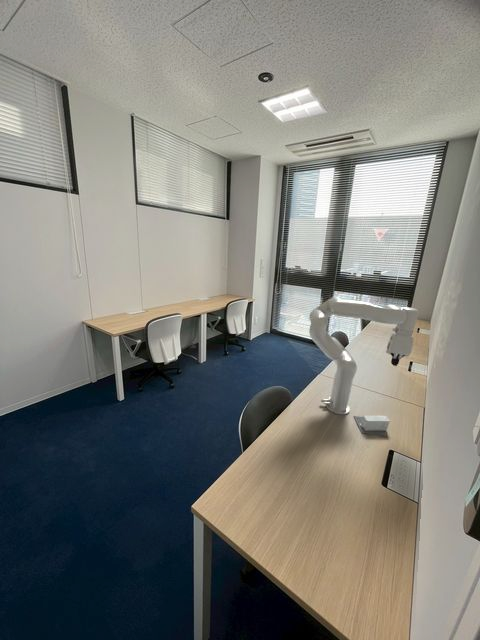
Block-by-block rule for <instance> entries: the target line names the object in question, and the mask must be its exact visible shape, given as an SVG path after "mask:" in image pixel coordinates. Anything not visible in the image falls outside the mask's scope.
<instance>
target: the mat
mask: <svg viewBox="0 0 480 640" xmlns="http://www.w3.org/2000/svg"><path fill="white" fill-rule="evenodd" d="M353 418H354V420H355V423H356V425H357V427H358V429H359V431H360V433H361V434H363V435H368V436H369V435H370V436H377V437H385V438H387V437H388V435H387V433H386V432H385V430H372V431H365V430H364V429H363V427H362V426H361V423H362V419H363V416H355V415H353Z"/></svg>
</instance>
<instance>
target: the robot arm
mask: <svg viewBox="0 0 480 640" xmlns="http://www.w3.org/2000/svg"><path fill="white" fill-rule="evenodd" d="M419 314H420V311H419V310H418V309H416V308H414V307H408V306H405V307H404V306H398V305H396V304H395V305H394V304H387V305H384V306H383V307H381V306H379V305H375V304H371V303H369V302H366V301H360V300H359V301H357V300H348V299H342V298H341V297H338V296H333V297H331V298H329V299H328V300H326V301H324V302H322V303H321V304H320V305H318V306H317V307H316V308H314V309H312V310H311V312H310V313H309V321H310V324H309V329H308V330H309V332H308V333H309V337H310V339H311V341H313V343H315V345H316V346H317V347H318V348H319V349H320V350H321V351H322V353H324V355H325V356H326V357H327V358H328V359H330V360H332V361H334V364H335V365H336V372H335V373H334V376H333V383H332V387H331V392H330V393H331V394H330V395H329V396H328V398H323V397H322V398H320V402H321V403H323V404H324V405H325V407H326V408H327V410H329V411H330V412H331V413H333V414H336V415H341V416H343V415H347V414H349V413H350V406H349V400H350V397H351V396H350V395H351V391H352V385H353V381H354V378H355V375H356V373H357V369H358V366H357V362H356V361H355V359H354V357H353V356H352V355H351V353H349V351H348V350H347V349H346V348H345V347H344V345H342V344H341V342H340V341H339V340H338V339H337V338H336V337H334V336H331V334H329V332H328V331H327V328H328V324H329V318H330V317H331V316H336V317H342V318H343V317H344V318H349V319H350V318H353V319H362V320H366V321H368V322H370V321H371V322H375V323H380V324H386V325H387V324H390V325H396V326H395V327H393V328H392V334H391V336H390V338H389V340H388V343H387V346H386V350H385V352H386V354H389V355H390V356H391V361H390V363H391V365H392V366H393V367H397V366H398V365H399V362H400V360H401V359H402V358H404V357H410V356H411V354H412V352H413V351H412V350H413V346H414V336H413V334H414V333H413V332H414V330H415V327H416V323H417V320H418V317H419Z"/></svg>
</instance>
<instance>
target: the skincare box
mask: <svg viewBox="0 0 480 640" xmlns="http://www.w3.org/2000/svg"><path fill="white" fill-rule="evenodd" d="M362 417H363V419H362V423H361V426H362V427H363V429H364V430H365V431H372V430H384V431H388V428H389V426H390V421H391V420H390V419H389V418H388V416H387V415H363V416H362Z"/></svg>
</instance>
